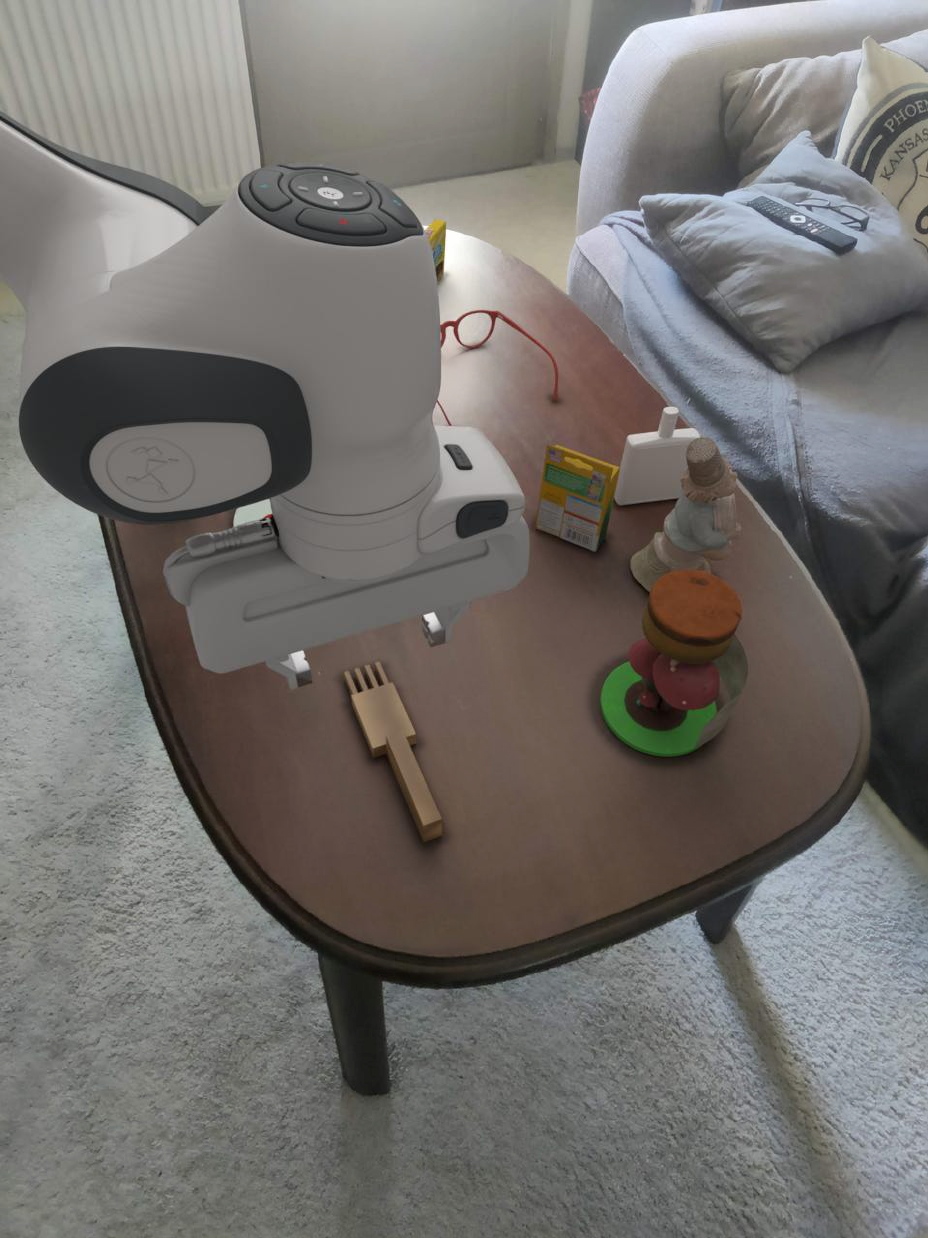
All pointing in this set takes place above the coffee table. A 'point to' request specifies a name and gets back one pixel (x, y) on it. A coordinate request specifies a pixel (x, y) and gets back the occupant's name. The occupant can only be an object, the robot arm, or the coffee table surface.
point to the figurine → (694, 519)
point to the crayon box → (576, 497)
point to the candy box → (437, 244)
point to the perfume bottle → (654, 462)
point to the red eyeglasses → (493, 318)
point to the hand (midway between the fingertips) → (369, 657)
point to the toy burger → (678, 667)
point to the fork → (394, 743)
